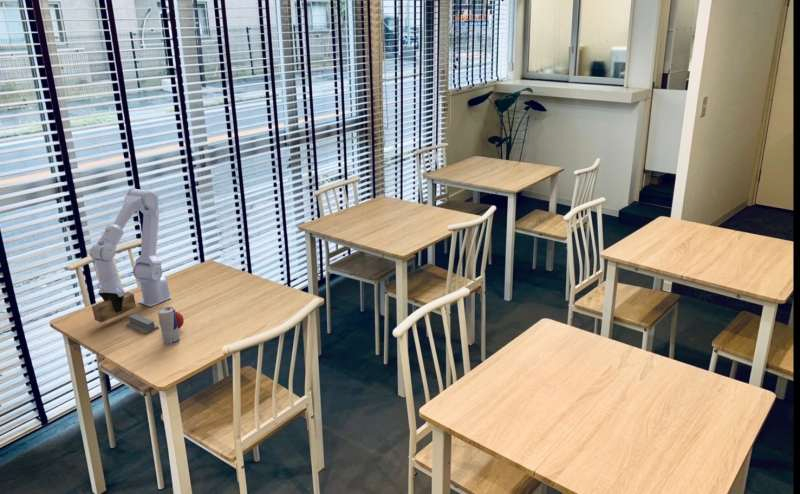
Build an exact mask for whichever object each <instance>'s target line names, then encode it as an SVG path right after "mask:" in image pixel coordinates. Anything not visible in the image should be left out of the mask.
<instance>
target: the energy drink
mask: <svg viewBox="0 0 800 494" xmlns="http://www.w3.org/2000/svg"><path fill="white" fill-rule="evenodd" d="M175 312H176V309H175V308H174V307H172V306H165V307H162V308H159V309H158V311H157V315H158V320H159V325H160V326H159V328H160V331H161V336H162V340H163V344H164V345H165V346H175V345H177V344H178V343H179V342H180V341H181V336H180V331H179V329H178V325H177V320H176V314H175Z"/></svg>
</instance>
